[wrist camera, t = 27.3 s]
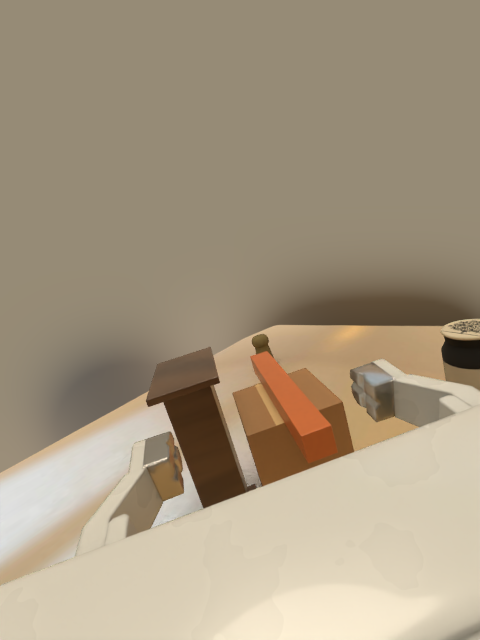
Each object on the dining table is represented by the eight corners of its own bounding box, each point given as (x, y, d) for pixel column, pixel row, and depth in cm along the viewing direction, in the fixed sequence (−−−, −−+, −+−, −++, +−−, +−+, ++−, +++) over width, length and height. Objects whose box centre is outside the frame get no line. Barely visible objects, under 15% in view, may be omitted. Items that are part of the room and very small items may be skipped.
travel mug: (477, 411, 54) (465, 315, 50) (529, 434, 46) (521, 322, 42) (441, 429, 52) (426, 331, 48) (489, 456, 45) (476, 342, 41)
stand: (277, 559, 39) (217, 376, 33) (217, 583, 38) (145, 400, 33) (257, 491, 51) (210, 346, 45) (210, 508, 50) (157, 364, 44)
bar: (338, 452, 29) (331, 425, 28) (308, 464, 28) (300, 436, 28) (271, 366, 52) (267, 350, 51) (254, 372, 52) (250, 356, 51)
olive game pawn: (261, 374, 95) (252, 341, 92) (256, 368, 100) (247, 336, 98) (279, 367, 96) (270, 334, 93) (273, 361, 101) (264, 330, 99)
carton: (370, 521, 41) (342, 401, 36) (284, 556, 39) (246, 435, 35) (329, 463, 52) (305, 367, 48) (262, 488, 51) (232, 392, 47)
